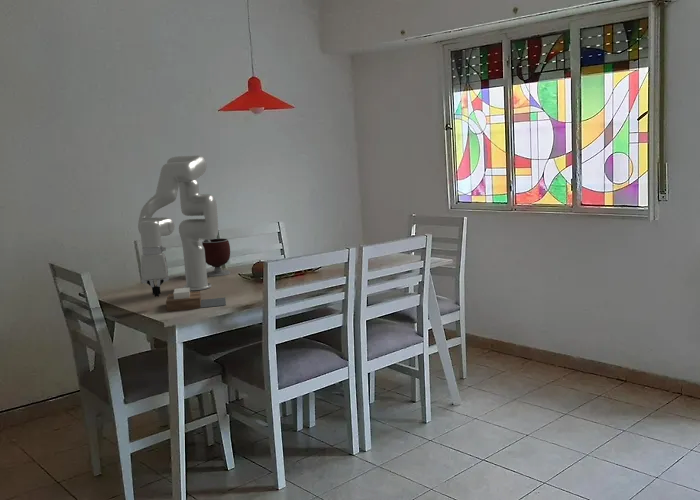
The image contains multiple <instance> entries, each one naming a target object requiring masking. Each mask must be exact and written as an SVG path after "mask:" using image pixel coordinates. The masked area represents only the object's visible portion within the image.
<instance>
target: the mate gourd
mask: <svg viewBox="0 0 700 500" xmlns="http://www.w3.org/2000/svg"><path fill="white" fill-rule="evenodd" d="M201 241H202V242H201V244H202V245H203V247H204V249H205V259H206V265H208V266H211V267H214V269H213V270H212V271H207V277H221V276H226V275H227V276H228V275H230V274H231V270H226V269H225V270H223V269H222V266H224V265H225V264H227V263H228V262H229V260H230V258H231V246H230V245H231V244H230V241H229V239H228V238H220V237H219V238H215V239H212V240H201Z"/></svg>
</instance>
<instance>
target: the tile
mask: <svg viewBox="0 0 700 500" xmlns="http://www.w3.org/2000/svg"><path fill="white" fill-rule="evenodd" d="M190 292H191V291H190V287H189V288H183V287H180V288H178V287H177V288H174V290H173V294H174V299H184V298H190Z"/></svg>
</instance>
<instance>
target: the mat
mask: <svg viewBox="0 0 700 500" xmlns="http://www.w3.org/2000/svg"><path fill="white" fill-rule="evenodd" d="M224 305H226V306H227V303H226V297H217V298H215V297H214V298H207V299H204V298H203V299H201V308H200V309H204V308H205V309H206V308H214V307H224Z"/></svg>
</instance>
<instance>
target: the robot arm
mask: <svg viewBox="0 0 700 500" xmlns="http://www.w3.org/2000/svg"><path fill="white" fill-rule="evenodd" d="M207 168H208V167H207V160H206V158H205V157H203V156H202V155H181V156H172V157H170V158H168V159H167V162H166V163H164V164H163V165H162V166H161V169H160V172H159V178H158V182H157V187H156V192H155V194H154V195H153V196H152V197H150V198H149V200H147V202H145V204H144V205H143V206H142V207H141V210H140V213H139V218H138V222H137V229H138V230H137V231H138V233H139V234H140V240H141V250H142V254H141V255H140V275H141V276H140V277H141V280H140V281H141V284H147V285H149V286H150V288H151V289H152V290H151V291H152V295H154V297H155V298H156V297H160V295H161V286H162V284H163V283H165V282H169V280H170V277H169V270H168V262H167V258H166V253H165V252H164V251H167V250H166V247H164V246H162V237H167V236H170V235H171V234H173V232H174V230H175V223H174V221H173V220H172V218H170V217H153V215H155V213H156V212H157V211H158V210H160V209H162V208H164V207H166V206H168V205H170V204H172V203H173V202H175V201H176V200H177V196H178V191H179V202H180V210H181V213H182V214H183V215H184V216H187V217H200V216H203V217H204V218H187V219H183V220H182V221H181V222H180V223H179V225H178V233H179V237H180V241H181V245H182V251H183V262H184V265H183V266H184V272H185V283H186V284H185V285H183V286H182V288H189V287H190V292H195V291H201V290H202V291H203V290H207V289H210V288H212V283H210V282H208V281H209V280H208V276H207V273H208V271H207V263H206V259H205V249H204V247H203V245H202V242H201V241H204V240H212V239H217V236H218V234H219V220H218V205H217V200H216V199H215V197H214V195H211V194H208V193H204V194H200V188H199V182H198V180H197V179H199V178H200V177H201V176H203V175H204V174H205V172H206V170H207ZM155 281H156V284H155Z"/></svg>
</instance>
